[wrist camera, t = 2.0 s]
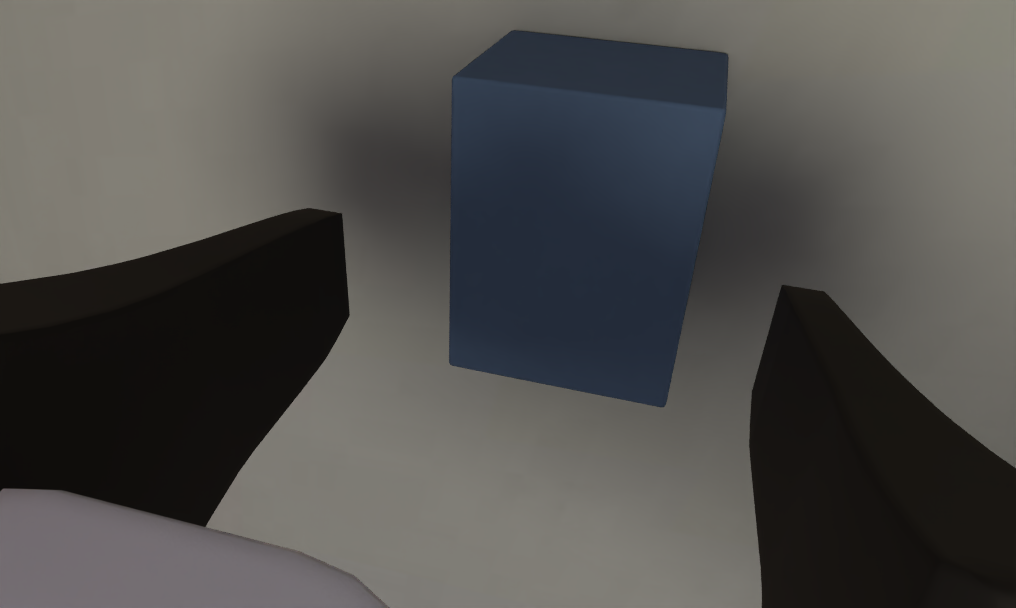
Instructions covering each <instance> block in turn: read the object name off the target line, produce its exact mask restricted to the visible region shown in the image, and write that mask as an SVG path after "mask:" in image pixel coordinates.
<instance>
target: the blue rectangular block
mask: <svg viewBox="0 0 1016 608" xmlns="http://www.w3.org/2000/svg"><path fill="white" fill-rule="evenodd" d="M727 78H728V55H727V54H725V53H718V52H709V51H700V50H691V49H681V48H672V47H663V46H653V45H644V44H635V43H626V42H616V41H607V40H598V39H589V38H579V37H570V36H561V35H552V34H542V33H533V32H524V31H515V30H513V31H511V32H509V33H508V34H507V35H505V36H504V37H503V38H502V39H500V40H499V41H498V42H497V43H495V44H494V45H493V46H491V47H490V48H489V49H488V50H486V51H485V52H484V53H482V54H481V55H480V56H479V57H477V58H476V59H475V60H474V61H472V62H471V63H470V64H468V65H467V66H466V67H465V68H463V69H462V70H461V71H460V72H458V73H457V74H456V75H454V76H453V78H452V129H451V230H450V331H449V363H450V365H452V366H457V367H462V368H467V369H472V370H477V371H482V372H487V373H492V374H497V375H502V376H507V377H512V378H517V379H522V380H527V381H532V382H537V383H542V384H547V385H552V386H557V387H562V388H567V389H572V390H577V391H582V392H587V393H592V394H597V395H602V396H607V397H612V398H617V399H622V400H627V401H632V402H637V403H642V404H647V405H652V406H657V407H664V406H665V405H666V402H667V397H668V392H669V387H670V383H671V378H672V373H673V368H674V363H675V358H676V354H677V349H678V344H679V339H680V334H681V329H682V324H683V320H684V315H685V310H686V305H687V300H688V295H689V290H690V286H691V281H692V276H693V271H694V266H695V261H696V257H697V252H698V247H699V242H700V237H701V232H702V227H703V223H704V218H705V213H706V208H707V203H708V198H709V194H710V189H711V184H712V179H713V174H714V169H715V164H716V160H717V155H718V150H719V145H720V140H721V135H722V131H723V126H724V121H725V116H726V102H727Z"/></svg>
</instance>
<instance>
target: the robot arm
mask: <svg viewBox="0 0 1016 608" xmlns="http://www.w3.org/2000/svg"><path fill="white" fill-rule="evenodd" d="M349 316H350V314H349V300H348V287H347V273H346V260H345V247H344V233H343V220H342V213H336V212H330V211H324V210H318V209H312V208H307V209H301V210H296V211H292V212H288V213H284V214H281V215H277V216H274V217H270V218H267V219H264V220H261V221H258V222H255V223H252V224H249V225H246V226H243V227H239V228H236V229H233V230H230V231H227V232H224V233H221V234H218V235H215V236H212V237H209V238H206V239H203V240H200V241H196V242H193V243H189V244H186V245H183V246H179V247H176V248H173V249H169V250H166V251H162V252H159V253H156V254H152V255H149V256H145V257H142V258H138V259H134V260H130V261H126V262H122V263H117V264H113V265H109V266H104V267H99V268H94V269H90V270H85V271H80V272H75V273H70V274H64V275H57V276H51V277H44V278H37V279H30V280H24V281H17V282H10V283H3V284H0V608H389V607H388V606H387V605H386V604H385V603H384V602H383V601H382V600H381V599H379V598H378V597H377V596H376V595H375V594H374V593H373V592H372V591H371V590H370V589H368V588H367V587H366V586H365V585H364V584H363V583H362V582H361V581H360V580H359V579H357V578H356V577H355V576H354V575H352V574H350V573H347V572H345V571H343V570H341V569H338V568H336V567H334V566H332V565H329V564H327V563H325V562H323V561H320V560H318V559H316V558H314V557H311V556H309V555H307V554H305V553H302V552H300V551H296V550H292V549H288V548H284V547H281V546H277V545H273V544H269V543H265V542H261V541H257V540H253V539H249V538H246V537H242V536H238V535H234V534H230V533H226V532H222V531H218V530H214V529H211V528H207V527H206V525H207V523H208V521H209V520H210V518H211V516H212V515H213V513H214V511H215V510H216V508H217V506H218V505H219V503H220V502H221V500H222V498H223V497H224V495H225V493H226V492H227V490H228V489H229V487H230V485H231V484H232V482H233V481H234V479H235V477H236V476H237V474H238V472H239V471H240V469H241V468H242V467H243V465H244V464H245V462H246V461H247V460H248V458H249V457H250V456H251V454H252V453H253V451H254V450H255V449H256V447H257V446H258V445H259V444H260V442H261V441H262V440H263V439H264V437H265V436H266V435H267V433H268V432H269V431H270V430H271V428H272V427H273V426H274V425H275V423H276V422H277V421H278V420H279V418H280V417H281V416H282V415H283V413H284V412H285V411H286V409H287V408H288V407H289V406H290V404H291V403H292V402H293V401H294V399H295V398H296V397H297V396H298V394H299V393H300V392H301V391H302V389H303V388H304V387H305V385H306V384H307V383H308V381H309V380H310V379H311V378H312V376H313V375H314V374H315V372H316V371H317V370H318V368H319V367H320V366H321V364H322V363H323V362H324V360H325V359H326V357H327V356H328V354H329V352H330V350H331V349H332V347H333V345H334V344H335V342H336V340H337V338H338V336H339V335H340V333H341V331H342V329H343V327H344V325H345V323H346V321H347V319H348V318H349ZM749 448H750V460H751V471H752V482H753V493H754V503H755V513H756V523H757V534H758V544H759V554H760V564H761V582H762V608H1016V468H1014V467H1013V466H1011V465H1010V464H1009V463H1007V462H1006V461H1004V460H1003V459H1001V458H1000V457H999V456H997V455H996V454H994V453H993V452H992V451H990V450H989V449H988V448H987V447H985V446H984V445H983V444H981V443H980V442H979V441H978V440H976V439H975V438H974V437H972V436H971V435H970V434H969V433H967V432H966V431H965V430H963V429H962V428H961V427H960V426H958V425H957V424H956V423H954V422H953V421H952V420H951V419H950V418H948V417H947V416H946V415H945V414H944V413H943V412H941V411H940V410H939V409H938V408H937V407H936V406H934V405H933V404H932V403H931V402H930V401H929V400H928V399H927V398H926V397H925V396H924V395H923V394H922V393H920V392H919V391H918V390H917V389H916V388H915V387H914V386H913V385H912V384H911V383H910V382H909V381H908V380H906V379H905V378H904V377H903V376H902V375H901V374H900V373H899V372H898V371H897V370H896V369H895V368H894V367H893V366H892V365H891V363H890V362H889V361H888V360H887V359H886V358H885V357H884V356H883V355H882V354H881V353H880V352H879V351H878V350H877V349H876V348H875V347H874V346H873V344H872V343H871V342H870V341H869V340H868V339H867V338H866V337H865V336H864V335H863V333H862V332H861V331H860V330H859V329H858V328H857V327H856V326H855V324H854V323H853V322H852V321H851V320H850V319H849V318H848V317H847V315H846V314H845V313H844V312H843V311H842V310H841V309H840V308H839V306H838V305H837V304H836V303H835V302H834V301H833V300H832V299H831V298H830V297H829V296H828V295H827V294H826V293H825V292H824V291H818V290H811V289H805V288H799V287H793V286H787V285H782V286H781V290H780V293H779V297H778V301H777V304H776V308H775V311H774V315H773V318H772V322H771V325H770V329H769V333H768V336H767V340H766V343H765V347H764V350H763V354H762V357H761V361H760V365H759V368H758V372H757V375H756V379H755V382H754V386H753V389H752V399H751V416H750V439H749Z"/></svg>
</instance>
